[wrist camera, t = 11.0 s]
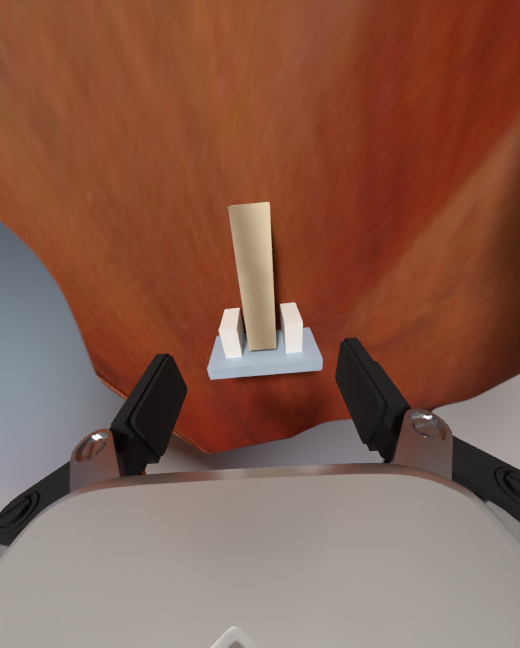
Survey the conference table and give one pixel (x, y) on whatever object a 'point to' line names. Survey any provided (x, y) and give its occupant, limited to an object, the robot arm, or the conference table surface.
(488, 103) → the conference table surface
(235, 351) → the slotted stand base
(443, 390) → the conference table surface
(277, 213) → the conference table surface
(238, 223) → the rail
